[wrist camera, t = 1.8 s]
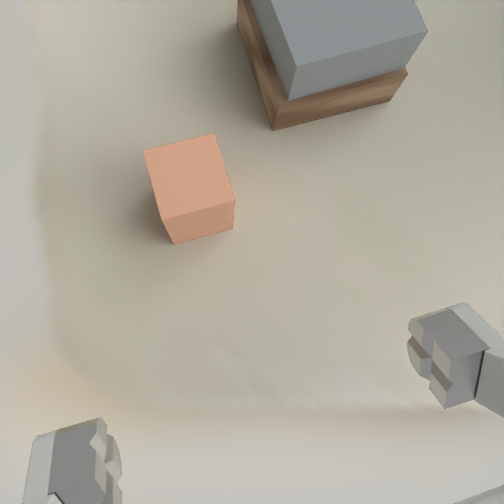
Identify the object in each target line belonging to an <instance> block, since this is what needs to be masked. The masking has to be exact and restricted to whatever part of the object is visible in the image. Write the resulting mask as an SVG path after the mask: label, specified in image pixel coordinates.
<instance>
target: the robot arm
mask: <svg viewBox="0 0 504 504" xmlns="http://www.w3.org/2000/svg"><path fill="white" fill-rule="evenodd" d="M408 330H409V331H410V333H411V334H412V337H411V338H410V339H409V341H408V354H409V358H410V361H411V363H412V365H413V367H414V368H415V370H416V371H417V373H418V374H419V375H420V376H422V377H424V378H426V379H428V380H430V387H429V389H430V390H431V391H432V393H433V394H434V395H435V397H436V398H437V399H438V401H439V402H440V403H441V405H442V406H443V407H444V409H446V408H449V407H452V406H455V405H458V404H462V403H465V402H468V401H471V400H474V399H475V401H476V402H478V403H479V404H481V405H483V406H485V407H486V408H488V409H490V410H492V411H493V412H495V413H497V414H499V415H500V416H502V417H504V338H503V337H502V336H501V335H500V334H499V333H498V332H497V331H496V330H495V329H494V328H493V327H492V326H491V325H490V324H489V323H487V322H486V321H485V320H484V319H483V318H482V317H481V316H480V315H479V314H478V313H477V312H476V311H475V310H474V309H473V308H472V307H471V306H469V305H468V304H466V303H464V302H463V303H460V304H457V305H453V306H450V307H447V308H445V309H444V308H443V309H440V310H437V311H434V312H431V313H428V314H425V315H422V316H419V317H416V318H413V319H411V320H410V322H409V327H408ZM121 472H122V471H121V459H120V453H119V449H118V447H117V443H116V441H115V440H114V438H113V436H110V435H108V434H107V425H106V424H105V422H104V421H103V419H102V418H96V419H93V420H89V421H86V422H83V423H79V424H76V425H72V426H69V427H66V428H62V429H58V430H55V431H52V432H49V433H45V434H42V435H39V436H36V438H35V440H34V442H33V444H32V450H31V456H30V461H29V467H28V473H27V479H26V485H25V491H24V497H23V502H22V504H122V491H121V490H120V488H119V486H118V485H117V482H118V480H119V478H120V476H121V474H122V473H121ZM454 504H504V485H502V486H500V487H497V488H494V489H492V490H489V491H486V492H484V493H481V494H478V495H475V496H473V497H471V498H467V499H465V500H462V501H459V502H457V503H454Z"/></svg>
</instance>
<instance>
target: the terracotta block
mask: <svg viewBox="0 0 504 504" xmlns="http://www.w3.org/2000/svg"><path fill="white" fill-rule="evenodd" d="M143 154H144V158H145V162H146V165H147V169H148V173H149V176H150V180H151V184H152V187H153V191H154V195H155V198H156V202H157V206H158V209H159V213H160V217H161V220H162V222H163V224H164V226H165V228H166V230H167V232H168V234H169V236H170V238H171V240H172V242H173V244H178V243H181V242H185V241H189V240H192V239H196V238H199V237H203V236H207V235H210V234H214V233H218V232H221V231H225V230H228V229H232V228H233V220H234V206H235V199H234V196H233V192H232V189H231V186H230V182H229V179H228V176H227V173H226V169H225V166H224V163H223V160H222V156H221V153H220V150H219V146H218V143H217V140H216V137H215V133H212V134H208V135H204V136H200V137H196V138H192V139H188V140H184V141H180V142H176V143H172V144H168V145H164V146H160V147H156V148H152V149H148V150H144V151H143Z"/></svg>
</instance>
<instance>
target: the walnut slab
mask: <svg viewBox="0 0 504 504" xmlns="http://www.w3.org/2000/svg"><path fill="white" fill-rule="evenodd" d="M237 25H238V28H239V31H240V34H241V37H242V40H243V43H244V45H245V48H246V51H247V54H248V57H249V60H250V63H251V66H252V69H253V72H254V75H255V78H256V81H257V84H258V87H259V90H260V93H261V96H262V99H263V102H264V105H265V108H266V111H267V114H268V117H269V120H270V123H271V126H272V129H273V131H275V130H279V129H283V128H287V127H291V126H294V125H298V124H302V123H306V122H310V121H314V120H318V119H322V118H326V117H329V116H333V115H337V114H341V113H345V112H349V111H353V110H357V109H360V108H364V107H368V106H372V105H376V104H380V103H384V102H388V101H390V100H391V98H392V97H393V95H394V94H395V92H396V91H397V89H398V88H399V86H400V85H401V83H402V82H403V80H404V79H405V77H406V76H407V74H408V73H407V71H406V68H405V67H404V69H400V70H396V71H393V72H389V73H386V74H382V75H379V76H375V77H372V78H368V79H364V80H361V81H357V82H354V83H350V84H347V85H343V86H340V87H336V88H333V89H329V90H325V91H322V92H318V93H315V94H311V95H308V96H304V97H301V98H297V99H293V100H290V101H288V100H287V97H286V95H285V92H284V90H283V87H282V84H281V82H280V79H279V76H278V74H277V71H276V68H275V66H274V63H273V61H272V58H271V55H270V53H269V50H268V47H267V45H266V42H265V40H264V37H263V34H262V32H261V29H260V26H259V24H258V21H257V18H256V16H255V13H254V11H253V8H252V5H251V3H250V0H238V9H237Z"/></svg>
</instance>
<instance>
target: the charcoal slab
mask: <svg viewBox="0 0 504 504" xmlns="http://www.w3.org/2000/svg"><path fill="white" fill-rule="evenodd" d="M250 3H251V5H252V8H253V11H254V13H255V16H256V18H257V21H258V24H259V26H260V29H261V32H262V34H263V37H264V40H265V42H266V45H267V47H268V50H269V53H270V55H271V58H272V61H273V63H274V66H275V68H276V71H277V74H278V76H279V79H280V82H281V84H282V87H283V90H284V92H285V95H286V97H287V100H288V101H290V100H293V99H297V98H301V97H304V96H308V95H311V94H315V93H318V92H322V91H325V90H329V89H333V88H336V87H340V86H343V85H347V84H350V83H354V82H357V81H361V80H364V79H368V78H372V77H375V76H379V75H382V74H386V73H389V72H393V71H396V70H400V69H404V67H405V66H406V64H407V63H408V61H409V59H410V58H411V56H412V55H413V53H414V52H415V50H416V49H417V47H418V46H419V44H420V42H421V41H422V39H423V38H424V36H425V35H426V33H427V32H428V30H427V28H426V25H425V23H424V21H423V19H422V17H421V14H420V12H419V10H418V8H417V6H416V3H415V1H414V0H250Z"/></svg>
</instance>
